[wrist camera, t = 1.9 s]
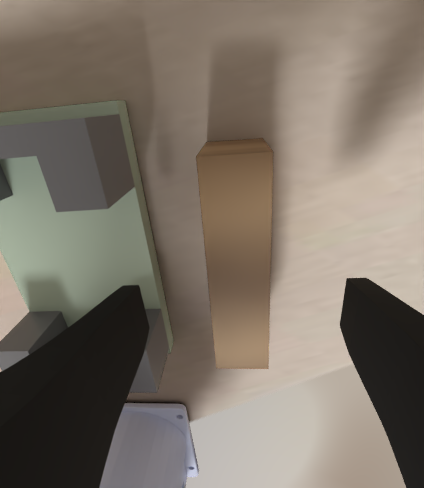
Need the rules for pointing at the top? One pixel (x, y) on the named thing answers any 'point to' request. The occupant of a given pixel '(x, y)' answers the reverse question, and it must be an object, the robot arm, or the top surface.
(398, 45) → the top surface
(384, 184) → the top surface
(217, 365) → the slat
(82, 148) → the end caps
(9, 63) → the top surface
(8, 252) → the base board
